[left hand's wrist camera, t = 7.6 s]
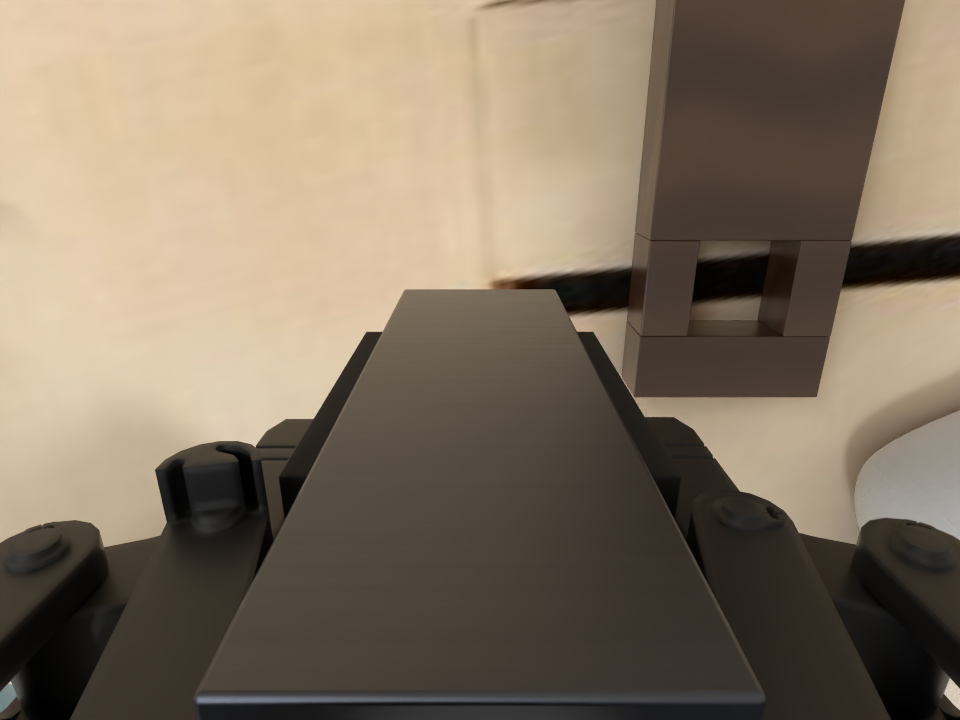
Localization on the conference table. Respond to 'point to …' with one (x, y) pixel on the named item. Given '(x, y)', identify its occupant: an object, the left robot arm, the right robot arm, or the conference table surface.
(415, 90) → the conference table surface
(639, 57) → the conference table surface
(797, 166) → the peg board
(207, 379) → the conference table surface
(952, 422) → the projector
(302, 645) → the peg
